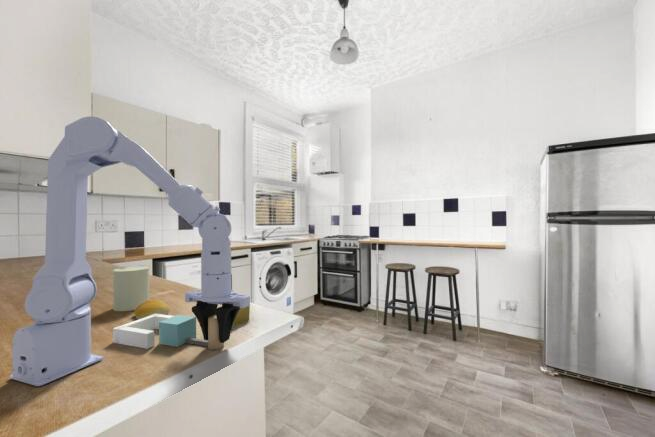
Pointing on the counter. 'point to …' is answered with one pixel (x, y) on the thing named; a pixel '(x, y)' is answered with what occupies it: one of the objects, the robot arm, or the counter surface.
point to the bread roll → (151, 309)
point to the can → (130, 287)
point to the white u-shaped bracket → (139, 331)
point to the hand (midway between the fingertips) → (216, 339)
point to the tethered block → (188, 332)
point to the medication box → (242, 315)
